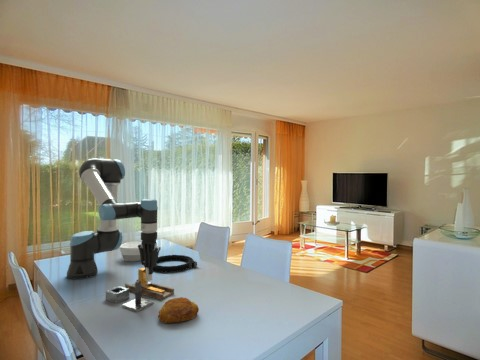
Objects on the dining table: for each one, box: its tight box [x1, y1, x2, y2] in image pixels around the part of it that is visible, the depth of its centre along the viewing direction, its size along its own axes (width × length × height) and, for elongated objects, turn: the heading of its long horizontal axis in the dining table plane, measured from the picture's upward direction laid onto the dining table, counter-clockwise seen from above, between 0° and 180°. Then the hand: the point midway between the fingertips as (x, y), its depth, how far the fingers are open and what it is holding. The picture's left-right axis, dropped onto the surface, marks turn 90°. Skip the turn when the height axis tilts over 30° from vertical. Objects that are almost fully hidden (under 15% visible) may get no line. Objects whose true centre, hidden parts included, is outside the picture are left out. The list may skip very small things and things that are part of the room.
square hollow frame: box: [105, 285, 130, 304], centre depth 132 cm, size 7×7×4 cm
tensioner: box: [137, 267, 165, 293], centre depth 140 cm, size 16×5×9 cm, turn 61°
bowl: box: [118, 241, 142, 262], centre depth 194 cm, size 18×18×9 cm
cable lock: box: [153, 254, 198, 273], centre depth 180 cm, size 28×4×30 cm
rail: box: [124, 279, 175, 301], centre depth 141 cm, size 24×8×2 cm, turn 61°
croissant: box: [157, 296, 200, 324], centre depth 117 cm, size 14×16×8 cm
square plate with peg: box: [121, 280, 154, 313], centre depth 126 cm, size 9×9×10 cm
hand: (148, 280), depth 141 cm, fingers closed
